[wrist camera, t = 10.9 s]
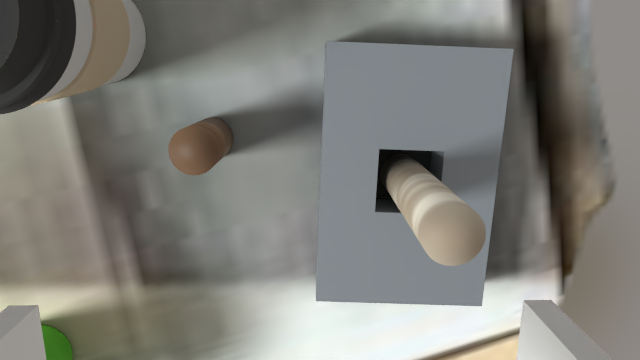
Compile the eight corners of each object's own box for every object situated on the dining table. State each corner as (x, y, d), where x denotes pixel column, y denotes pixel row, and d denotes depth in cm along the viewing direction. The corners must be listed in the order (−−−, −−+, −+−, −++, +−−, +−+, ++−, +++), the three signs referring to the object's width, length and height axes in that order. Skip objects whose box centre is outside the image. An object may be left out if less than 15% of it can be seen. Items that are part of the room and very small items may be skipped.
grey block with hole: (325, 44, 34) (326, 41, 30) (493, 51, 34) (513, 48, 31) (315, 280, 38) (316, 301, 34) (466, 285, 38) (481, 305, 34)
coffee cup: (180, -2, 33) (73, -60, 18) (138, 119, 35) (11, 153, 20) (53, -58, 32) (-166, -167, 17) (17, 69, 34) (-210, 66, 19)
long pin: (382, 152, 35) (425, 203, 22) (422, 155, 36) (490, 206, 22) (379, 191, 36) (418, 264, 22) (418, 193, 36) (481, 267, 23)
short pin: (192, 116, 35) (167, 125, 29) (233, 118, 35) (217, 127, 29) (193, 157, 35) (169, 174, 30) (233, 159, 35) (217, 176, 30)
